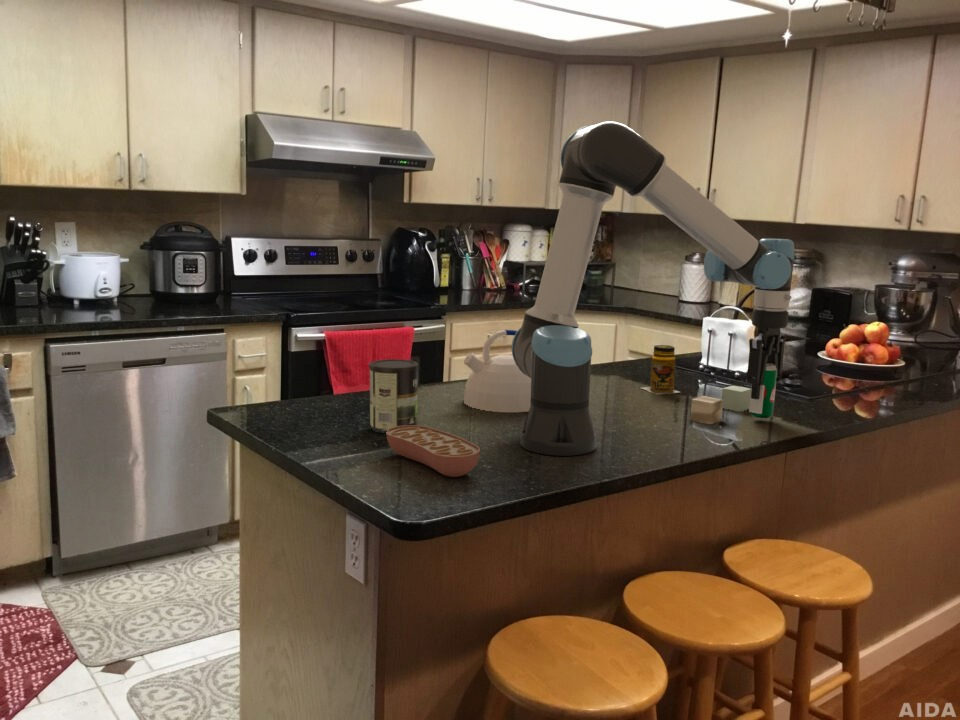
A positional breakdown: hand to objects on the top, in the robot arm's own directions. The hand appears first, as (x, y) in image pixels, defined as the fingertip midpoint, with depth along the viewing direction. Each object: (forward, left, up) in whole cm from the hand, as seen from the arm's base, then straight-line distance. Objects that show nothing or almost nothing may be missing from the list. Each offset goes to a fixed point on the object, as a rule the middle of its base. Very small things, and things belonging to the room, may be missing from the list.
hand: (761, 410), depth 191 cm
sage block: (+7, +10, -3) cm, 12 cm away
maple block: (-9, +9, -3) cm, 13 cm away
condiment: (+10, +33, -3) cm, 34 cm away
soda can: (0, 0, -1) cm, 1 cm away
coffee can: (-66, +51, -3) cm, 83 cm away
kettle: (-31, +51, -3) cm, 60 cm away
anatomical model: (-77, +27, -3) cm, 81 cm away
